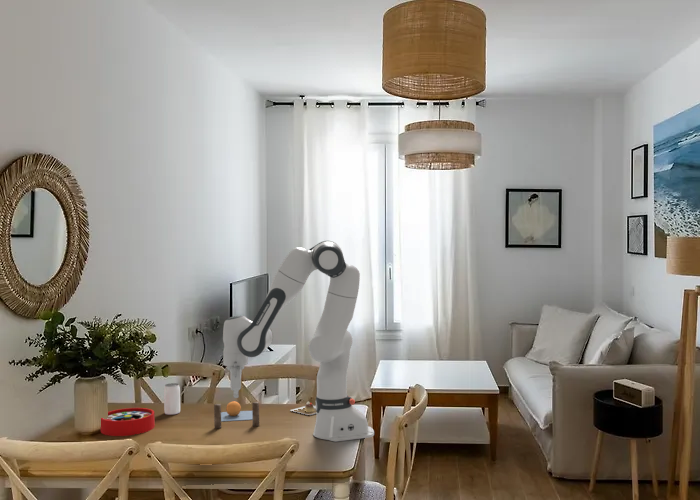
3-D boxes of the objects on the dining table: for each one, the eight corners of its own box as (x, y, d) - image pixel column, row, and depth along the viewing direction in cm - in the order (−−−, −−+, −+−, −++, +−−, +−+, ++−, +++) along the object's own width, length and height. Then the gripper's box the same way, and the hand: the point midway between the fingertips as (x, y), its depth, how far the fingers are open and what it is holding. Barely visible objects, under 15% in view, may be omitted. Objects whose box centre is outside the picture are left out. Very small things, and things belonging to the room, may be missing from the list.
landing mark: (254, 410, 289) (254, 410, 289) (254, 419, 275) (254, 419, 275) (220, 412, 287) (220, 412, 287) (219, 421, 273) (219, 421, 273)
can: (176, 415, 284) (175, 386, 283) (161, 414, 285) (161, 386, 285) (182, 411, 290) (182, 383, 290) (168, 410, 291) (168, 382, 291)
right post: (259, 424, 268) (258, 401, 268) (259, 426, 265) (259, 403, 265) (252, 424, 267) (252, 402, 267) (252, 426, 265) (252, 403, 265)
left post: (221, 426, 265) (221, 403, 265) (221, 428, 263) (220, 405, 263) (214, 427, 265) (214, 404, 265) (214, 428, 262) (213, 405, 262)
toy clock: (159, 416, 261) (104, 424, 251) (159, 431, 261) (104, 439, 252) (148, 405, 278) (96, 412, 269) (148, 419, 279) (97, 426, 269)
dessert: (329, 411, 288) (329, 400, 288) (308, 417, 279) (308, 406, 279) (309, 407, 296) (309, 396, 296) (289, 412, 287) (289, 401, 287)
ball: (241, 398, 284) (241, 406, 278) (240, 411, 286) (240, 419, 280) (226, 398, 283) (226, 406, 277) (225, 411, 284) (225, 419, 279)
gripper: (244, 364, 242) (244, 403, 242) (244, 354, 262) (244, 390, 262) (226, 365, 241) (226, 404, 241) (227, 355, 261) (227, 391, 261)
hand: (236, 397), depth 252 cm, fingers closed
